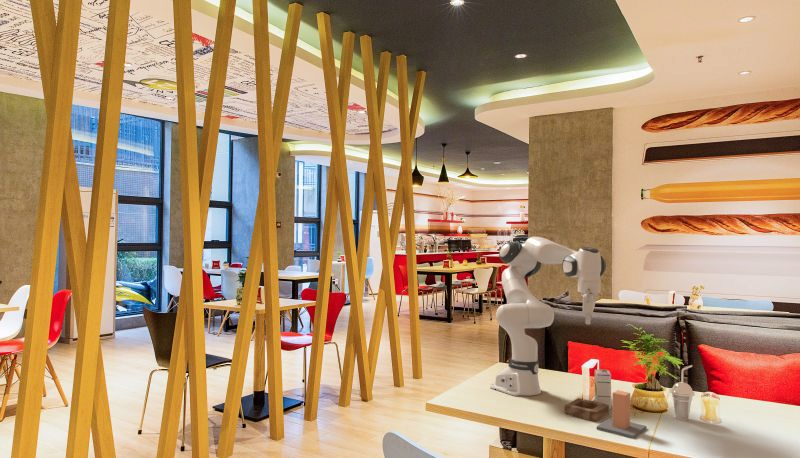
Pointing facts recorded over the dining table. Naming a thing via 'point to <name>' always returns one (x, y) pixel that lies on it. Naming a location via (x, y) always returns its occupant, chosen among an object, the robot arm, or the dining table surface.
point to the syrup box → (603, 387)
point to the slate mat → (628, 432)
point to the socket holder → (587, 409)
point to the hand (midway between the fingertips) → (588, 322)
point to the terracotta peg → (621, 409)
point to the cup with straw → (682, 398)
